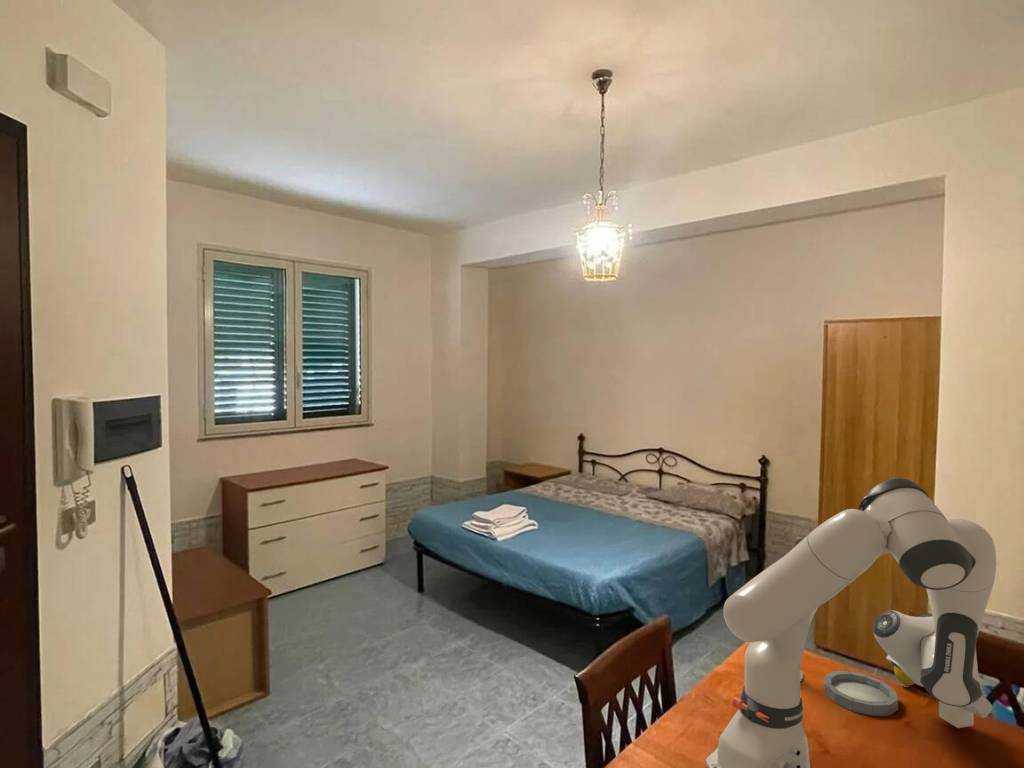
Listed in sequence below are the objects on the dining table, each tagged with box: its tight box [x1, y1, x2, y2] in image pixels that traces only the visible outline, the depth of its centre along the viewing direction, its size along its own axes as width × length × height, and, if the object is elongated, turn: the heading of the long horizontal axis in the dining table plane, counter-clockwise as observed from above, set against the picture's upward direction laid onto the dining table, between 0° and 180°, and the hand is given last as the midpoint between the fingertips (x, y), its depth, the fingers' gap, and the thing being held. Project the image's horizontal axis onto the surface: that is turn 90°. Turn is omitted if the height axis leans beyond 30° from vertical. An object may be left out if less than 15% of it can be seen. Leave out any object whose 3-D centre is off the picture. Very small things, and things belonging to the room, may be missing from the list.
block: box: [938, 700, 975, 729], centre depth 134 cm, size 5×5×8 cm
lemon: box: [893, 665, 916, 687], centre depth 151 cm, size 6×6×8 cm
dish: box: [823, 670, 899, 717], centre depth 146 cm, size 16×16×3 cm
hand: (958, 702), depth 134 cm, fingers closed on block, 5 cm apart
